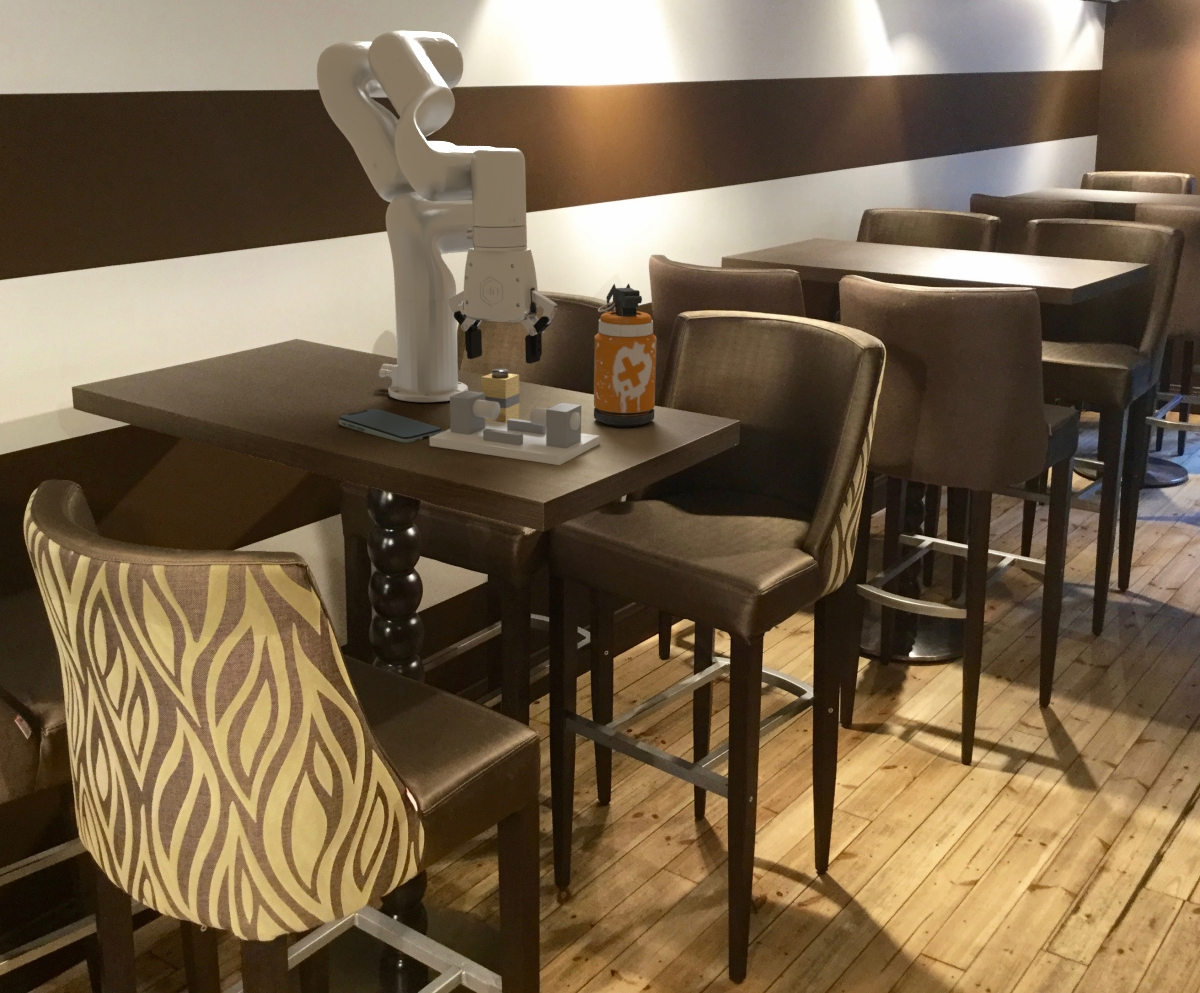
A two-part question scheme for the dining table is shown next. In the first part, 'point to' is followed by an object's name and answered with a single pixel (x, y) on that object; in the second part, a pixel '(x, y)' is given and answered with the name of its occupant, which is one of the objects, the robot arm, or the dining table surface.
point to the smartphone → (388, 425)
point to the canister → (624, 362)
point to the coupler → (502, 393)
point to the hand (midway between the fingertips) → (503, 359)
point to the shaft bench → (515, 431)
